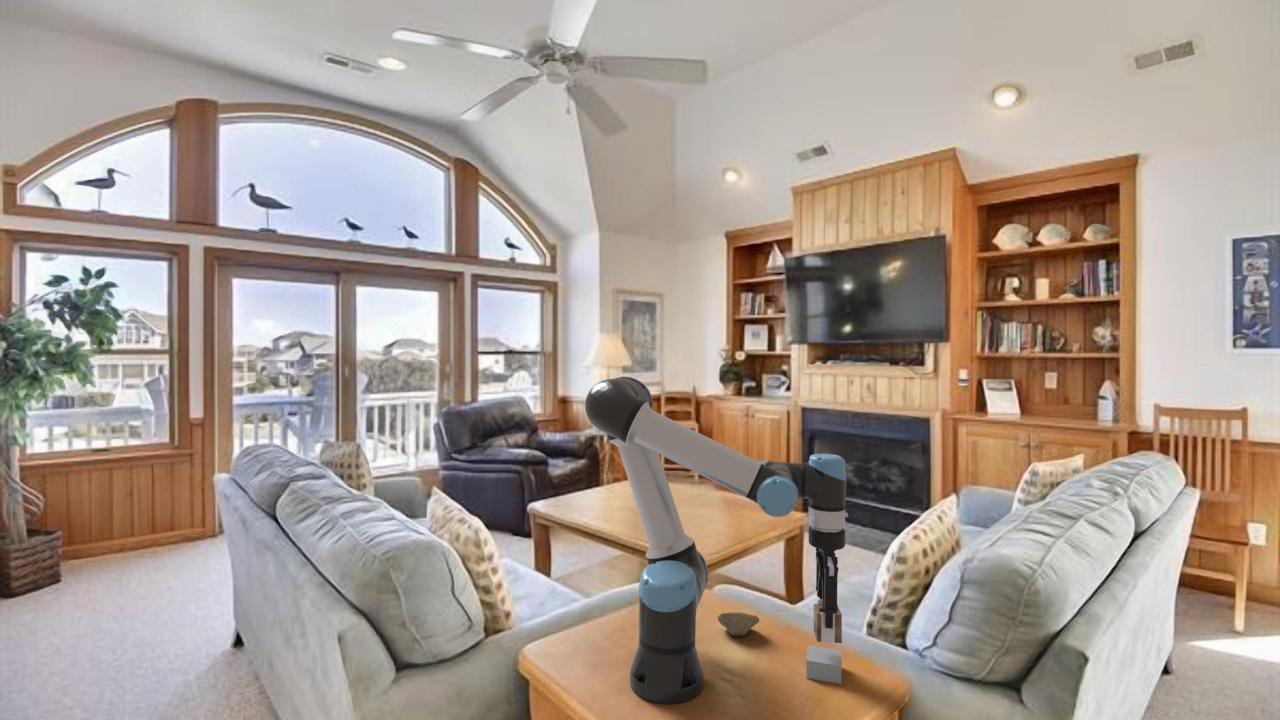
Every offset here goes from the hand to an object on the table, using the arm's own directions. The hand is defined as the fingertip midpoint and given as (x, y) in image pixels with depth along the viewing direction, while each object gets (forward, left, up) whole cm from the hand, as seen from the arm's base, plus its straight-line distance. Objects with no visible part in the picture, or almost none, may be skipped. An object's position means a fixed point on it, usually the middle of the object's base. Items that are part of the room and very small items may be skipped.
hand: (825, 634), depth 128 cm
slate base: (0, 0, -8) cm, 8 cm away
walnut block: (0, 0, 0) cm, 1 cm away
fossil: (-18, +15, -8) cm, 25 cm away
